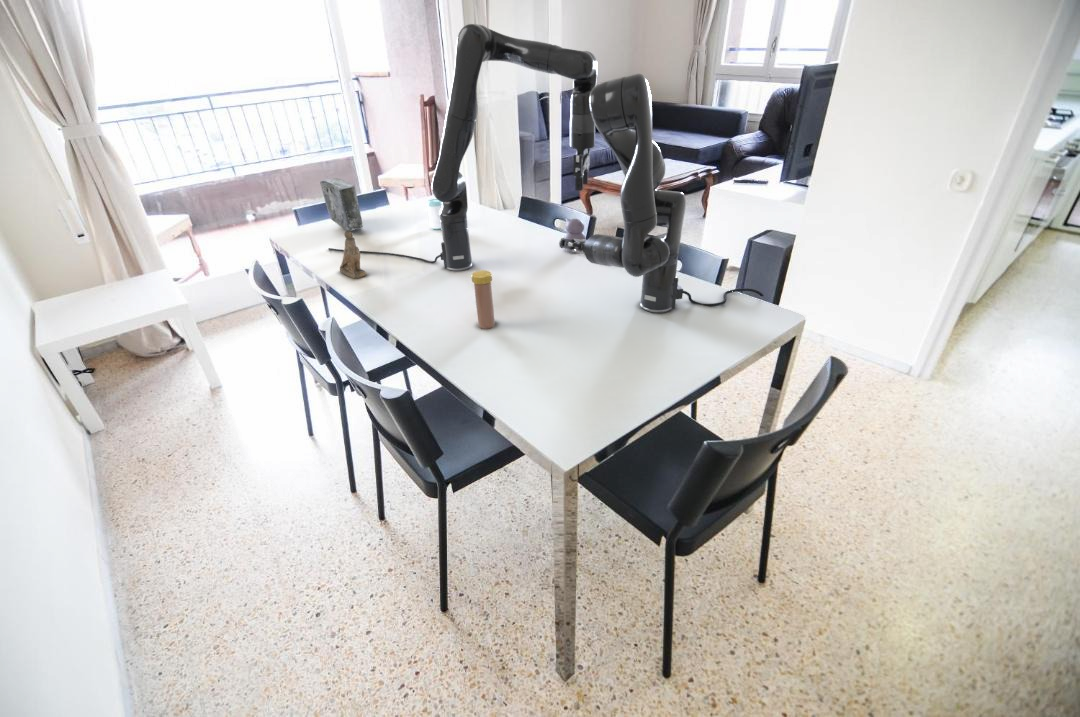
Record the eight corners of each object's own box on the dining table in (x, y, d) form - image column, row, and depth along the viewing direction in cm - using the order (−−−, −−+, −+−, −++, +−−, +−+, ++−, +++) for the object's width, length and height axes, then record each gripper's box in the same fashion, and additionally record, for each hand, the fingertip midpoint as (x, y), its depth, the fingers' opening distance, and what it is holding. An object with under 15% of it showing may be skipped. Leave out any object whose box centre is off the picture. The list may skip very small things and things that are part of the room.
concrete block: (368, 232, 220) (358, 186, 209) (348, 237, 216) (336, 189, 205) (349, 220, 239) (338, 176, 228) (330, 223, 234) (319, 179, 224)
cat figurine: (589, 249, 191) (590, 218, 185) (577, 255, 187) (577, 223, 180) (572, 245, 196) (572, 214, 190) (559, 250, 192) (559, 219, 185)
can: (445, 229, 220) (441, 202, 214) (429, 230, 220) (425, 202, 214) (447, 224, 226) (444, 198, 220) (432, 225, 226) (428, 198, 220)
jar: (492, 320, 144) (487, 271, 136) (497, 326, 140) (492, 277, 132) (476, 323, 142) (471, 274, 134) (480, 330, 138) (475, 280, 131)
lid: (488, 275, 137) (488, 269, 136) (494, 282, 133) (493, 275, 132) (470, 278, 135) (469, 272, 134) (475, 286, 131) (474, 279, 130)
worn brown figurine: (368, 281, 178) (362, 235, 166) (353, 285, 175) (347, 238, 163) (352, 266, 184) (346, 221, 172) (338, 270, 181) (331, 224, 169)
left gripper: (574, 127, 153) (574, 181, 162) (564, 133, 142) (565, 192, 150) (598, 127, 152) (597, 182, 160) (590, 133, 140) (589, 192, 148)
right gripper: (631, 239, 128) (597, 236, 142) (584, 230, 121) (554, 227, 135) (625, 269, 130) (592, 262, 144) (578, 261, 123) (549, 255, 137)
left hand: (581, 186), depth 155 cm, fingers open, 8 cm apart
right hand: (574, 245), depth 139 cm, fingers open, 8 cm apart
